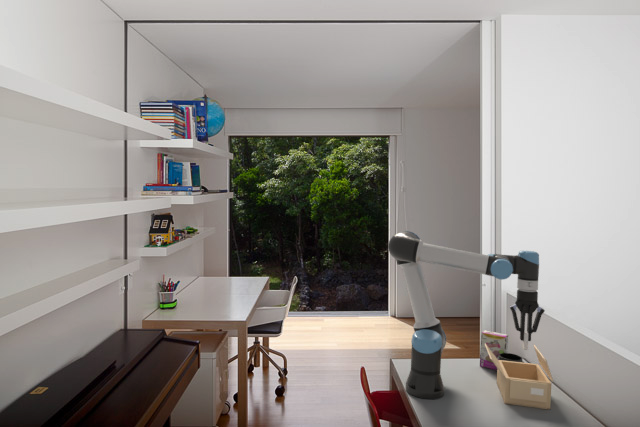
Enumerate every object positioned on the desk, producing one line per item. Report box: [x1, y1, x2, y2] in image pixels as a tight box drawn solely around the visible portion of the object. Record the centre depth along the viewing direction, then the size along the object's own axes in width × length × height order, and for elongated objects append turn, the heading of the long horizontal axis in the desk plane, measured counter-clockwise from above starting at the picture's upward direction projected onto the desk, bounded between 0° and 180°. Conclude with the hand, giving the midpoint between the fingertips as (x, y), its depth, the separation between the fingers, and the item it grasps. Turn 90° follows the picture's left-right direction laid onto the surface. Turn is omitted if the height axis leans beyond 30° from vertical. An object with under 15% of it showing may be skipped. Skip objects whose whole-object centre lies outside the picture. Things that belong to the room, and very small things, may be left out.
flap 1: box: [485, 343, 505, 376], centre depth 182 cm, size 8×19×1 cm
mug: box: [499, 352, 525, 363], centre depth 199 cm, size 9×12×9 cm
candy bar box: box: [479, 329, 509, 371], centre depth 209 cm, size 11×5×16 cm, turn 58°
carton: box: [496, 360, 552, 410], centre depth 180 cm, size 16×22×10 cm
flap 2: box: [533, 344, 554, 383], centre depth 178 cm, size 8×19×1 cm
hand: (525, 348), depth 179 cm, fingers closed
